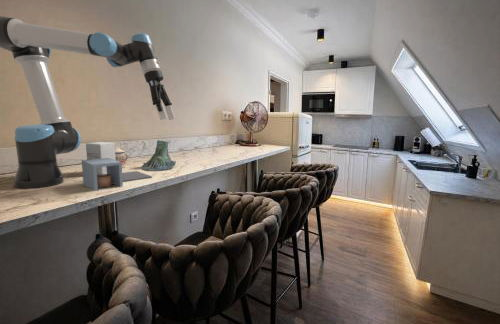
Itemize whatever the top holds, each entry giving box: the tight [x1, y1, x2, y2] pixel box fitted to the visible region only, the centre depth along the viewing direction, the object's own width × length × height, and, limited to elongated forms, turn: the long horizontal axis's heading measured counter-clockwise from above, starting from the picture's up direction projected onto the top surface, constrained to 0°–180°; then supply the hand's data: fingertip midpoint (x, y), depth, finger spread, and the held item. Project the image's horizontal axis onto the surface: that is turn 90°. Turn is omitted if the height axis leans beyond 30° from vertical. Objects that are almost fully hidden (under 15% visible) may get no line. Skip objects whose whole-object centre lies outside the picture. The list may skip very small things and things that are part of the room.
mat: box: [122, 170, 153, 183], centre depth 116 cm, size 16×14×1 cm
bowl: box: [97, 174, 113, 188], centre depth 100 cm, size 7×7×4 cm
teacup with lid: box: [115, 145, 129, 169], centre depth 138 cm, size 12×9×12 cm
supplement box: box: [85, 141, 116, 174], centre depth 122 cm, size 9×9×15 cm
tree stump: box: [141, 140, 177, 172], centre depth 141 cm, size 18×20×18 cm
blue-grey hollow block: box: [81, 158, 124, 192], centre depth 100 cm, size 14×10×10 cm
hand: (168, 119), depth 112 cm, fingers open, 13 cm apart
